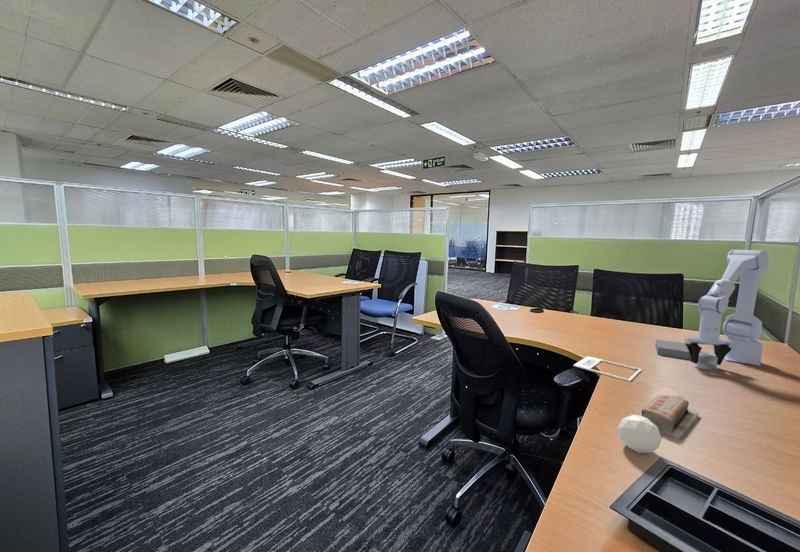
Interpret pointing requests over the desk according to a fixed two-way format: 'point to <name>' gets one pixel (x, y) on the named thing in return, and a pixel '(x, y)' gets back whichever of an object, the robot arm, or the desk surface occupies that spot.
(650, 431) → the geometric ball
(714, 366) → the grey-green cube
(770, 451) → the desk surface
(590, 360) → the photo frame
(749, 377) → the desk surface
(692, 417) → the packaged product
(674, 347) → the pedestal
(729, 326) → the robot arm
